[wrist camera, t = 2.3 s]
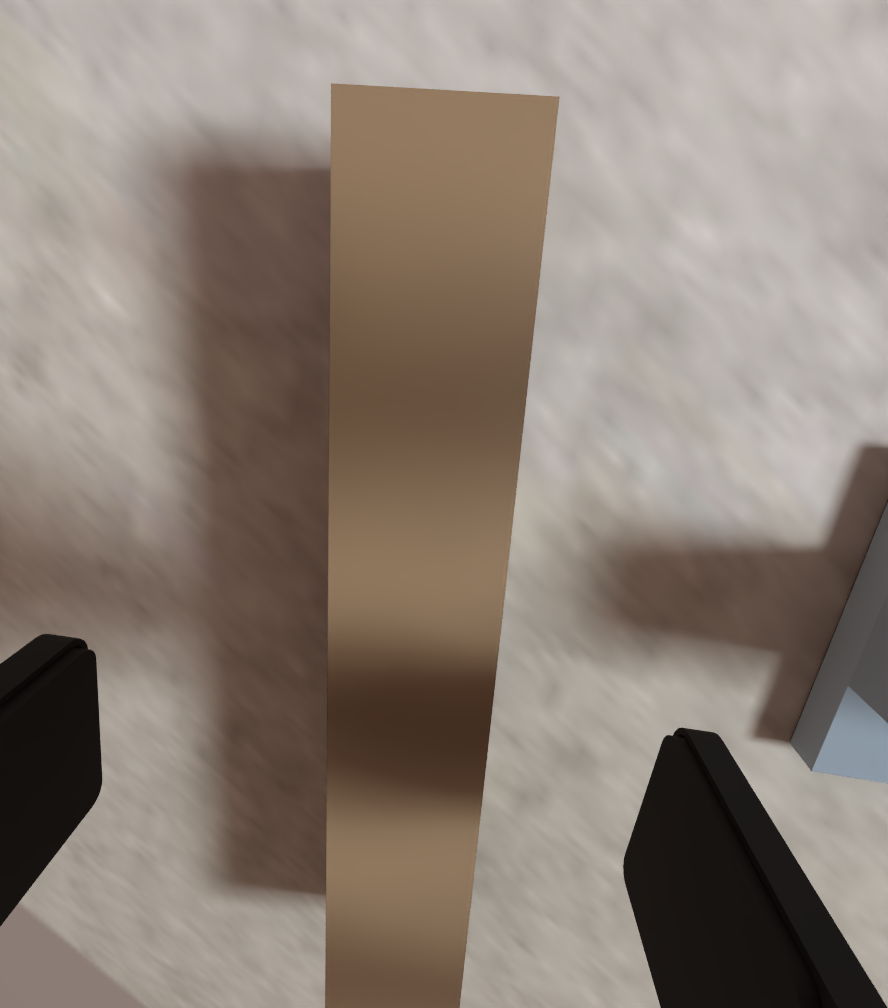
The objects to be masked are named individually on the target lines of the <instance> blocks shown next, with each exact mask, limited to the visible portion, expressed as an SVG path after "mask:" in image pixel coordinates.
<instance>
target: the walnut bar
mask: <svg viewBox="0 0 888 1008" xmlns="http://www.w3.org/2000/svg"><path fill="white" fill-rule="evenodd" d="M558 105H559V97H555V96H538V95H520V94H503V93H486V92H468V91H451V90H434V89H417V88H399V87H382V86H365V85H347V84H331V206H330V360H329V515H328V669H327V824H326V978H325V1008H459V1007H460V998H461V988H462V979H463V970H464V961H465V952H466V943H467V934H468V925H469V916H470V907H471V897H472V888H473V879H474V870H475V861H476V852H477V843H478V834H479V825H480V815H481V806H482V797H483V788H484V779H485V770H486V761H487V752H488V743H489V733H490V724H491V715H492V706H493V697H494V688H495V679H496V670H497V661H498V652H499V642H500V633H501V624H502V615H503V606H504V597H505V588H506V579H507V570H508V560H509V551H510V542H511V533H512V524H513V515H514V506H515V497H516V488H517V478H518V469H519V460H520V451H521V442H522V433H523V424H524V415H525V406H526V397H527V387H528V378H529V369H530V360H531V351H532V342H533V333H534V324H535V315H536V305H537V296H538V287H539V278H540V269H541V260H542V251H543V242H544V233H545V223H546V214H547V205H548V196H549V187H550V178H551V169H552V160H553V151H554V142H555V132H556V123H557V114H558Z"/></svg>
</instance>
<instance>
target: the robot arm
mask: <svg viewBox="0 0 888 1008" xmlns="http://www.w3.org/2000/svg"><path fill="white" fill-rule="evenodd" d="M101 786H102V765H101V745H100V726H99V706H98V686H97V666H96V655H95V653H94V651H92V650H89V649H88V647H87V644H86V642H85V641H84V640H82V639H79V638H72V637H65V636H58V635H52V634H42V635H40V636H38V637H37V638H35V639H34V640H32V641H31V642H30V643H28V644H27V645H26V646H24V647H23V648H21V649H20V650H19V651H17V652H16V653H15V654H13V655H12V656H11V657H9V658H8V659H6V660H5V661H4V662H2V663H1V664H0V926H1V925H2V924H3V922H4V921H5V920H6V918H7V917H8V916H9V914H10V913H11V912H12V910H13V909H14V908H15V907H16V905H17V904H18V903H19V901H20V900H21V899H22V897H23V896H24V895H25V894H26V892H27V891H28V890H29V888H30V887H31V886H32V884H33V883H34V882H35V881H36V879H37V878H38V877H39V875H40V874H41V873H42V871H43V870H44V869H45V868H46V866H47V865H48V864H49V862H50V861H51V860H52V858H53V857H54V856H55V855H56V853H57V852H58V851H59V849H60V848H61V847H62V845H63V844H64V843H65V842H66V840H67V839H68V838H69V836H70V835H71V834H72V832H73V831H74V830H75V829H76V827H77V826H78V825H79V823H80V822H81V821H82V819H83V818H84V817H85V816H86V814H87V813H88V812H89V810H90V809H91V808H92V806H93V805H94V803H95V802H96V800H97V798H98V795H99V793H100V790H101ZM623 869H624V880H625V884H626V888H627V891H628V895H629V898H630V902H631V905H632V909H633V912H634V916H635V919H636V923H637V926H638V930H639V933H640V937H641V940H642V944H643V947H644V951H645V954H646V958H647V961H648V965H649V968H650V972H651V975H652V979H653V982H654V985H655V989H656V992H657V996H658V999H659V1003H660V1006H661V1008H887V1006H886V1005H885V1003H884V1001H883V1000H882V998H881V997H880V995H879V993H878V992H877V990H876V988H875V987H874V985H873V984H872V982H871V980H870V979H869V977H868V976H867V974H866V972H865V971H864V969H863V967H862V966H861V964H860V963H859V961H858V959H857V958H856V956H855V954H854V953H853V951H852V950H851V948H850V946H849V945H848V943H847V941H846V940H845V938H844V937H843V935H842V933H841V932H840V930H839V929H838V927H837V925H836V924H835V922H834V920H833V919H832V917H831V916H830V914H829V912H828V911H827V909H826V907H825V906H824V904H823V903H822V901H821V899H820V898H819V896H818V894H817V893H816V891H815V890H814V888H813V886H812V885H811V883H810V882H809V880H808V878H807V877H806V875H805V873H804V872H803V870H802V869H801V867H800V865H799V864H798V862H797V860H796V859H795V857H794V856H793V854H792V852H791V851H790V849H789V847H788V846H787V844H786V843H785V841H784V839H783V838H782V836H781V835H780V833H779V831H778V830H777V828H776V826H775V825H774V823H773V822H772V820H771V818H770V817H769V815H768V813H767V812H766V810H765V809H764V807H763V805H762V804H761V802H760V800H759V799H758V797H757V796H756V794H755V792H754V791H753V789H752V788H751V786H750V784H749V783H748V781H747V779H746V778H745V776H744V775H743V773H742V771H741V770H740V768H739V766H738V765H737V763H736V762H735V760H734V758H733V757H732V755H731V753H730V752H729V750H728V749H727V747H726V745H725V744H724V742H723V741H722V739H721V738H720V737H719V735H718V734H716V733H714V732H707V731H700V730H693V729H687V728H678V729H677V730H676V731H675V732H674V735H673V736H670V735H668V736H666V737H665V738H664V739H663V741H662V744H661V747H660V750H659V753H658V756H657V759H656V762H655V765H654V768H653V771H652V774H651V777H650V780H649V784H648V787H647V790H646V793H645V796H644V799H643V802H642V805H641V808H640V811H639V814H638V817H637V820H636V823H635V826H634V829H633V832H632V835H631V838H630V841H629V844H628V847H627V850H626V853H625V857H624V865H623Z"/></svg>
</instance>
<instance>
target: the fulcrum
mask: <svg viewBox="0 0 888 1008" xmlns="http://www.w3.org/2000/svg"><path fill="white" fill-rule="evenodd" d="M790 744H791V745H792V746H793V747H794V749H795V750H796V751H797V753H798V754H799V755H800V757H801V758H802V759H803V761H804V762H805V763H806V765H807V766H808V767H809V768H810V770H811V771H814V772H820V773H826V774H833V775H839V776H845V777H851V778H857V779H864V780H870V781H876V782H882V783H888V503H887V505H886V507H885V510H884V512H883V515H882V517H881V520H880V522H879V525H878V527H877V530H876V532H875V535H874V537H873V540H872V542H871V544H870V547H869V549H868V552H867V554H866V557H865V559H864V562H863V564H862V567H861V569H860V572H859V574H858V577H857V579H856V581H855V584H854V586H853V589H852V591H851V594H850V596H849V599H848V601H847V604H846V606H845V609H844V611H843V613H842V616H841V618H840V621H839V623H838V626H837V628H836V631H835V633H834V636H833V638H832V641H831V643H830V646H829V648H828V650H827V653H826V655H825V658H824V660H823V663H822V665H821V668H820V670H819V673H818V675H817V678H816V680H815V682H814V685H813V687H812V690H811V692H810V695H809V697H808V700H807V702H806V705H805V707H804V710H803V712H802V715H801V717H800V719H799V722H798V724H797V727H796V729H795V732H794V734H793V737H792V739H791V742H790Z"/></svg>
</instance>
